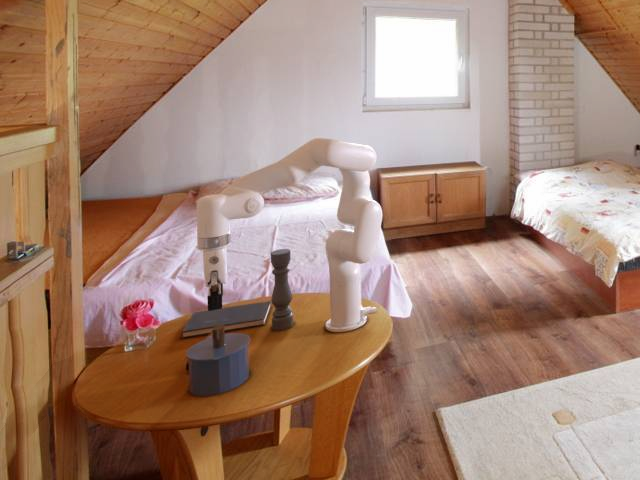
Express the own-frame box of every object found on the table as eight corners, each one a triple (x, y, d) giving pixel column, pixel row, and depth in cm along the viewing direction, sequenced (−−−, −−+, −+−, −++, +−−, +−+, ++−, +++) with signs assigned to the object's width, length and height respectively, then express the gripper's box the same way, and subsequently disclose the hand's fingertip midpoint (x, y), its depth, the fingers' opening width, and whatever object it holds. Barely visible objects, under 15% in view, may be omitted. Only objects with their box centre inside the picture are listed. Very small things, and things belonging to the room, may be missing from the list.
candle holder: (297, 323, 193) (295, 249, 192) (281, 331, 187) (279, 255, 186) (283, 320, 195) (281, 247, 194) (267, 329, 189) (265, 253, 188)
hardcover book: (264, 325, 191) (264, 318, 191) (181, 338, 182) (181, 331, 182) (271, 306, 206) (271, 300, 206) (194, 318, 197) (194, 311, 197)
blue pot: (248, 363, 167) (247, 331, 167) (249, 385, 156) (248, 351, 155) (191, 377, 160) (189, 344, 160) (188, 402, 148) (186, 366, 148)
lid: (249, 332, 168) (248, 311, 167) (250, 353, 155) (250, 331, 155) (187, 346, 160) (187, 324, 160) (184, 369, 148) (183, 346, 147)
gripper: (230, 247, 151) (231, 311, 152) (230, 231, 166) (232, 289, 166) (195, 252, 147) (197, 318, 148) (199, 235, 162) (200, 295, 162)
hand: (215, 303), depth 157 cm, fingers open, 9 cm apart
